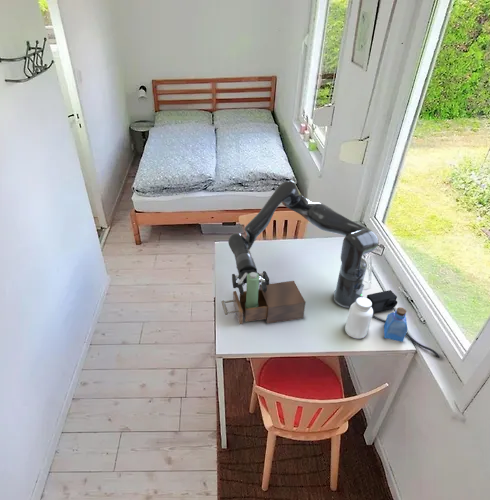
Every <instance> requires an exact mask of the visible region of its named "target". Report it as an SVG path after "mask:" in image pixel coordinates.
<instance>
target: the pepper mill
mask: <svg viewBox="0 0 490 500" xmlns="http://www.w3.org/2000/svg"><path fill="white" fill-rule="evenodd" d="M245 291H246V303H245V309H247V308H255V307H258V292H259V275H258V274H257V273H255V272H251V273H249V274H248V275H247V283H246V290H245Z"/></svg>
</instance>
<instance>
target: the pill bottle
mask: <svg viewBox="0 0 490 500" xmlns="http://www.w3.org/2000/svg"><path fill="white" fill-rule="evenodd" d="M371 306H372V302H371V301H370V300H369V299H367V297H364V296H362V297H359V298H357V299H356V302H355V303H353V304H352V305H351V306H350V308H348V309H349V310H348V313H347V318H346V322H345V325H344V330H345V333H346V334H347V336H349V337H351V338H354V339H364V338H365V337H367V334H368V332H369V329H370V326H371V323H372V319H373V317H372V316H373V315H374V314H373V309H372V307H371Z"/></svg>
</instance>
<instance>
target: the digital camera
mask: <svg viewBox="0 0 490 500" xmlns="http://www.w3.org/2000/svg"><path fill="white" fill-rule="evenodd" d="M366 298H367V299H369V300H370V301H371V302H372V306H371V307H372V309H373V315H374V314H379V313H383V312H388V311H392V310H394V309H395V307H396V306H397V304H398V300H397V298H398V296H397V294H396V293H394V292H393V290H392V289H389V290H383V291H379V292H374V293H369V294H367V295H366Z"/></svg>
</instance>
